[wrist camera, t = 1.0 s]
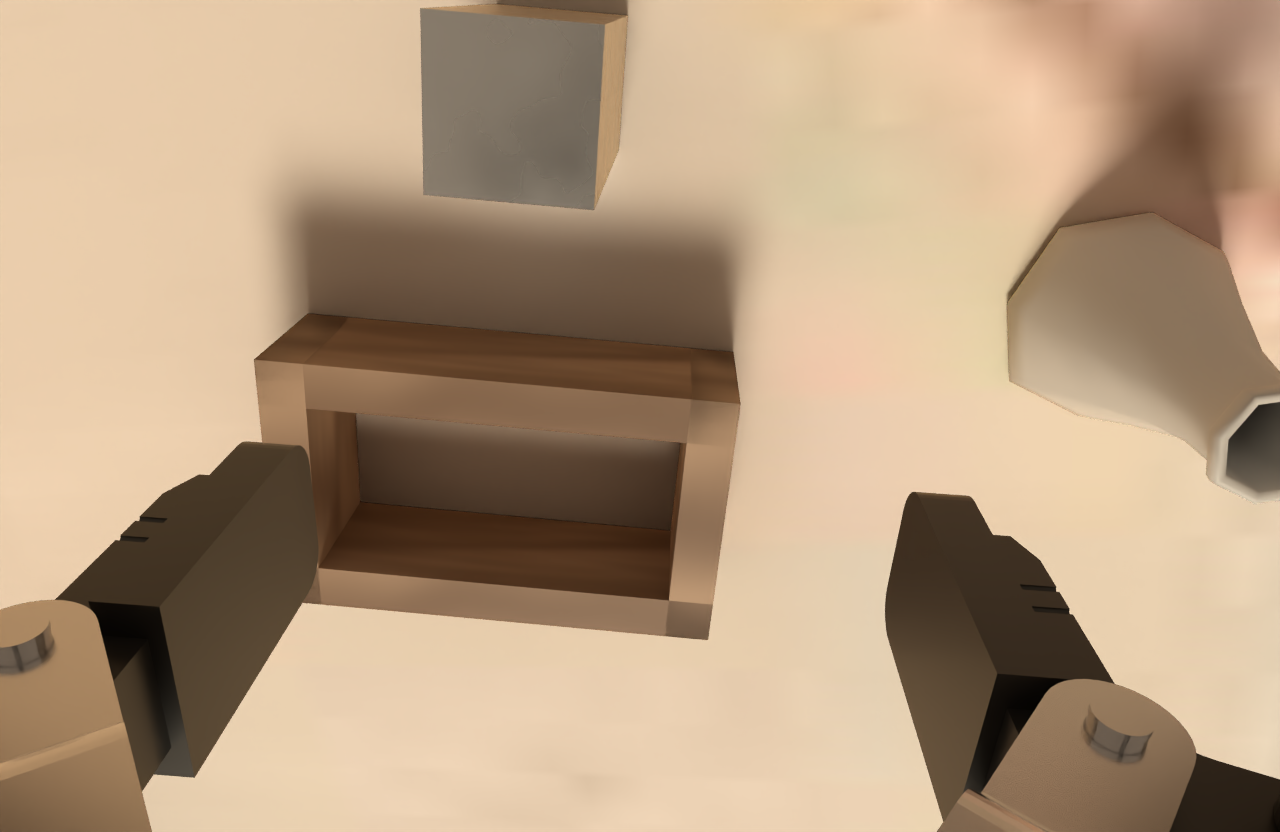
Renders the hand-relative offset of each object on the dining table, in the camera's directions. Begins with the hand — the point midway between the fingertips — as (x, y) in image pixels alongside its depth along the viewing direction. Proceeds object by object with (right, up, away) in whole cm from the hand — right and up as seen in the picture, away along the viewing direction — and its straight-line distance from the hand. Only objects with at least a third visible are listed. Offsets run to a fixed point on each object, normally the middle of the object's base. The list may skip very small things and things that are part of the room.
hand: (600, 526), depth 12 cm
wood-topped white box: (-2, +12, +16) cm, 20 cm away
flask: (+16, +5, +19) cm, 26 cm away
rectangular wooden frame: (-4, 0, +22) cm, 22 cm away
